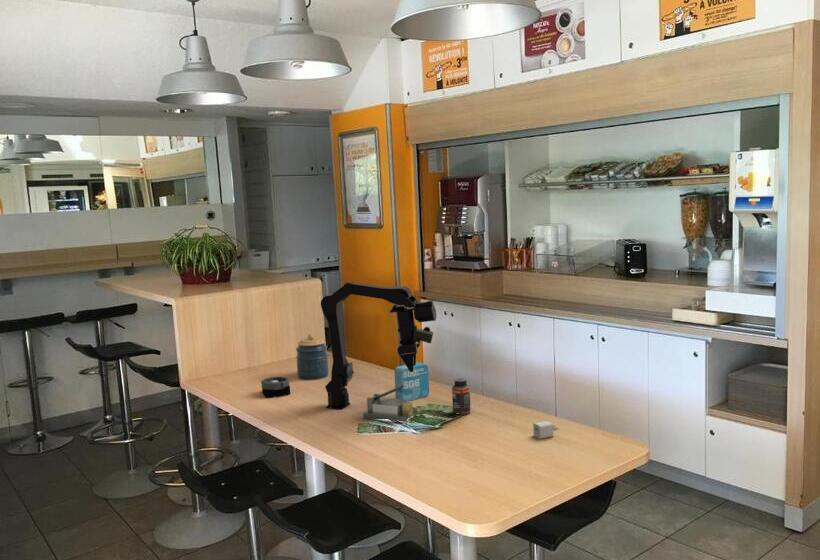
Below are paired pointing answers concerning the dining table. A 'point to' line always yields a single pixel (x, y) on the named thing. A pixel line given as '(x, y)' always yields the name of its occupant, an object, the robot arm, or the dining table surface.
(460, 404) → the supplement bottle
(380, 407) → the heatsink
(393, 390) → the dark grey bar
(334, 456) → the dining table surface
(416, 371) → the data package
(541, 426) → the usb wall charger
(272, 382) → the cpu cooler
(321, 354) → the canister
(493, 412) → the dining table surface
